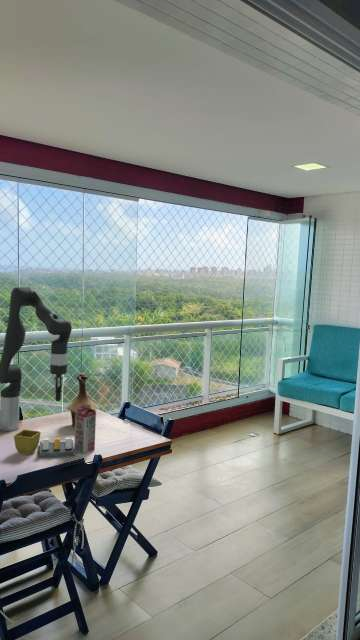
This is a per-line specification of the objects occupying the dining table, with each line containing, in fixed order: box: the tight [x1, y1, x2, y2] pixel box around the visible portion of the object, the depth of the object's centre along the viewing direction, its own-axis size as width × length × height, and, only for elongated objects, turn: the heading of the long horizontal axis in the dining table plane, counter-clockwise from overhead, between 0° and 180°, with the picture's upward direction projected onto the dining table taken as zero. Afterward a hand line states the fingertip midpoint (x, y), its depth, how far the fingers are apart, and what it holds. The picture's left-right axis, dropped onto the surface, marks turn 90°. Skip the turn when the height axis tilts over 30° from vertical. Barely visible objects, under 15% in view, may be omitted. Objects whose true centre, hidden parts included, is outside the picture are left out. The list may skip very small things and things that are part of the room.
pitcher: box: [66, 372, 100, 428], centre depth 262 cm, size 18×17×28 cm
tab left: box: [42, 437, 50, 450], centre depth 220 cm, size 3×2×4 cm
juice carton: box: [73, 402, 97, 454], centre depth 226 cm, size 7×7×22 cm
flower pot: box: [13, 429, 42, 456], centre depth 220 cm, size 9×9×9 cm
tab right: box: [65, 437, 73, 449], centre depth 222 cm, size 3×2×4 cm
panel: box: [39, 439, 75, 459], centre depth 225 cm, size 15×16×2 cm
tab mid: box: [53, 437, 61, 449], centre depth 221 cm, size 3×2×4 cm
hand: (57, 400), depth 223 cm, fingers closed
